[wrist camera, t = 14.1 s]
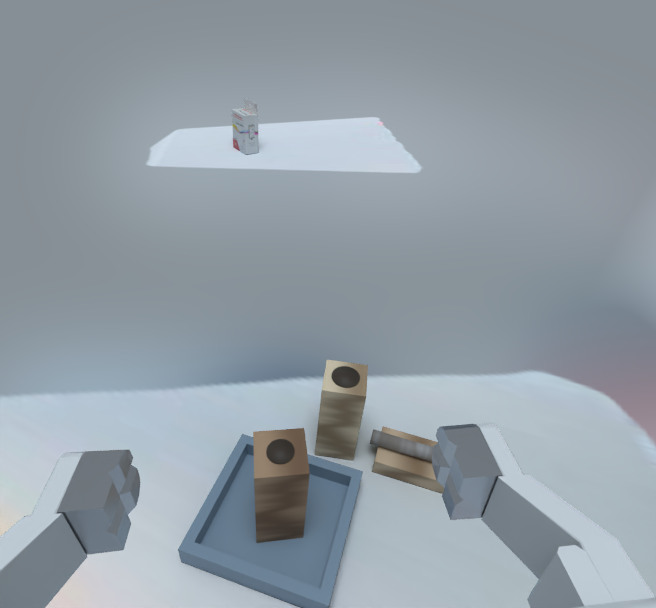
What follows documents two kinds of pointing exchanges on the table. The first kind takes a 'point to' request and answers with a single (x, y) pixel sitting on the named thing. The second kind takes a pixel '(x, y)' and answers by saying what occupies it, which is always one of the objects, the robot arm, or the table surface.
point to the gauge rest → (405, 458)
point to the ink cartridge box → (245, 128)
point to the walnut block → (280, 484)
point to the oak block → (341, 409)
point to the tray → (276, 556)
